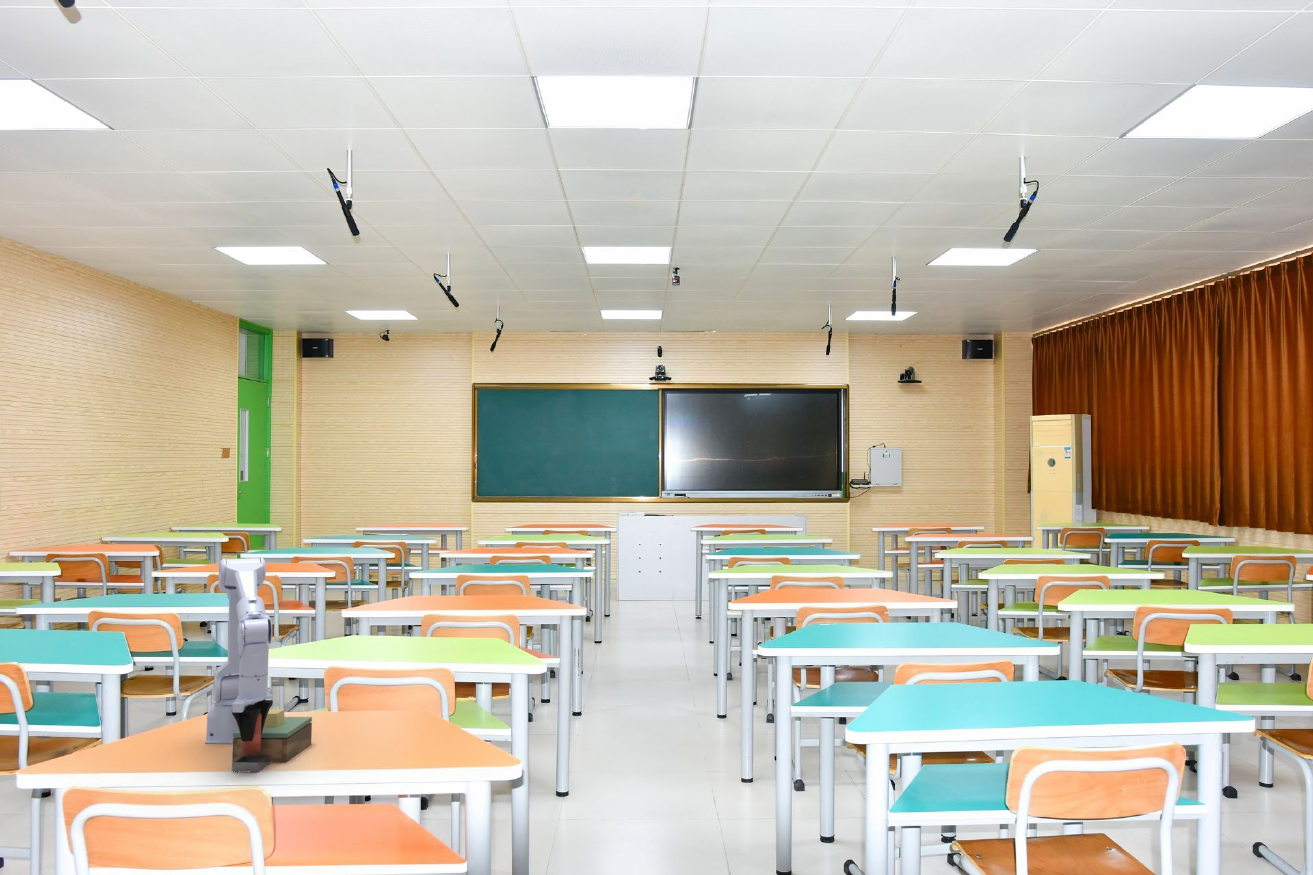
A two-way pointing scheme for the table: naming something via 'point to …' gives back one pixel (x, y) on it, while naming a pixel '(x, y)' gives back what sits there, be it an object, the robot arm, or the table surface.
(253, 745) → the key peg
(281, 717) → the lid
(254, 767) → the key socket
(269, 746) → the wooden box
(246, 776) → the table surface
